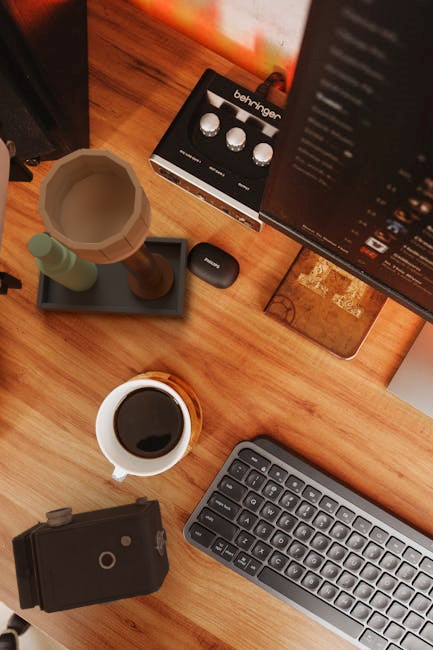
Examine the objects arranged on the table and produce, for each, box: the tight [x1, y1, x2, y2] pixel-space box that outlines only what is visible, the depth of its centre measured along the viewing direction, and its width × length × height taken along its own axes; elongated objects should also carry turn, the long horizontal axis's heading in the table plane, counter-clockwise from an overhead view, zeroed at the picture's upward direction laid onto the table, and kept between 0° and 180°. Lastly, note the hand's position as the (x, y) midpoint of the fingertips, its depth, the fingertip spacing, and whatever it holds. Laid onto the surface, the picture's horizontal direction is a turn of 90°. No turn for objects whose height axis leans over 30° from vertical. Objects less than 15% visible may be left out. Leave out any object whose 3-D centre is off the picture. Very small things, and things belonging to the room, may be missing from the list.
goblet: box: [37, 148, 175, 301], centre depth 53 cm, size 7×7×28 cm
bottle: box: [27, 232, 98, 292], centre depth 61 cm, size 4×4×14 cm
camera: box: [11, 496, 172, 614], centre depth 59 cm, size 11×11×15 cm
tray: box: [36, 231, 189, 319], centre depth 67 cm, size 17×9×2 cm, turn 87°
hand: (10, 230), depth 49 cm, fingers open, 9 cm apart
